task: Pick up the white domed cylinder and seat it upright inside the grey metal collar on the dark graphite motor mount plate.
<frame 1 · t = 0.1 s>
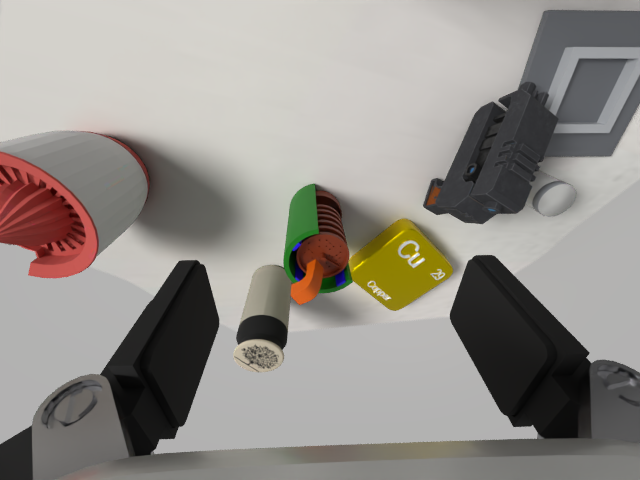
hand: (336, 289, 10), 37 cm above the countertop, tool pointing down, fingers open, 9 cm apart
travel mug: (272, 279, 57), on the countertop
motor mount: (578, 91, 40), on the countertop
white domed cylinder: (526, 184, 48), on the countertop
citrus juicer: (110, 175, 45), on the countertop
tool: (465, 148, 44), on the countertop
motor: (316, 212, 50), on the countertop
element tile: (395, 260, 56), on the countertop
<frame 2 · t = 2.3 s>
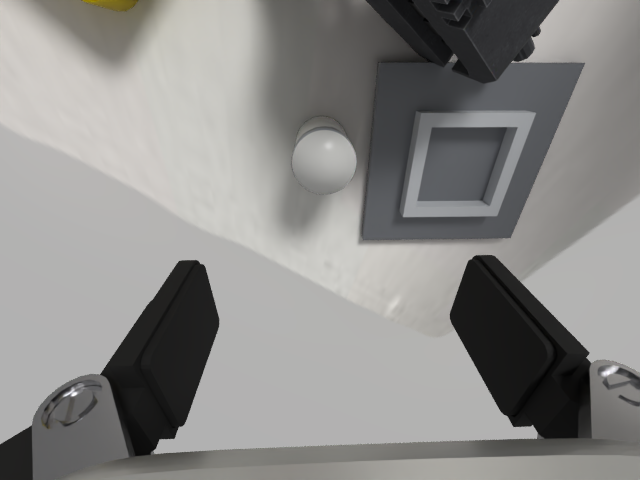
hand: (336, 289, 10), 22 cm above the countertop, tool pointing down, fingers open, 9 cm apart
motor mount: (452, 162, 30), on the countertop
white domed cylinder: (321, 143, 28), on the countertop
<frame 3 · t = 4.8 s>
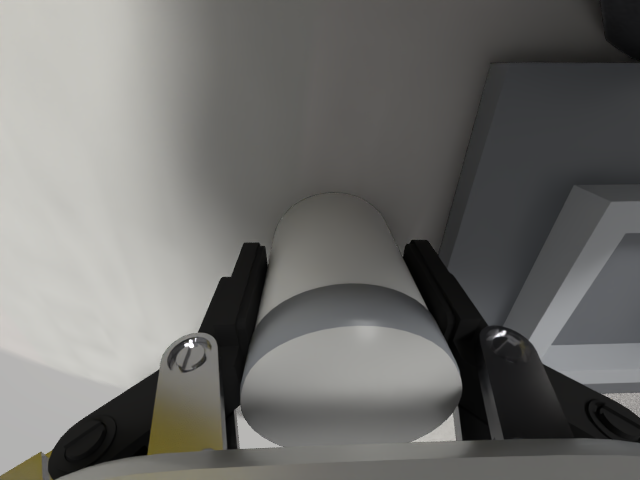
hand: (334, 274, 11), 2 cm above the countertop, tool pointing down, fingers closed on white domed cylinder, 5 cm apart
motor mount: (609, 275, 14), on the countertop
white domed cylinder: (331, 246, 13), on the countertop, touching gripper
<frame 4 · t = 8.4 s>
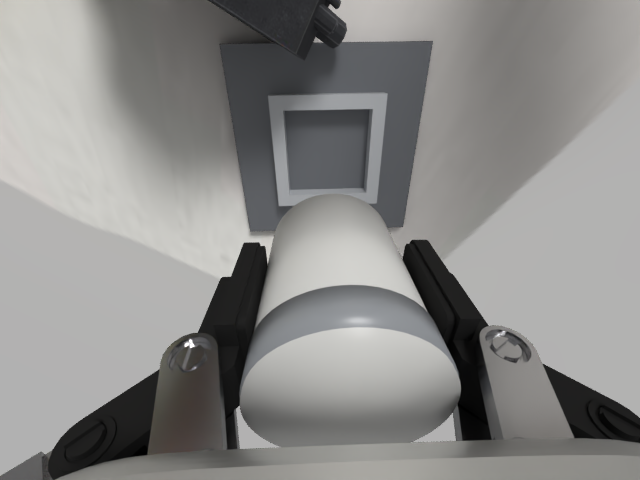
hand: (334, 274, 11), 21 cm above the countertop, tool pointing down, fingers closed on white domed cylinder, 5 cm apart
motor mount: (326, 148, 29), on the countertop
white domed cylinder: (331, 247, 13), point 19 cm above the countertop, touching gripper
when the fingers open (5 cm above the countertop, at t = 12.5 s): white domed cylinder drops 2 cm, resting on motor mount.
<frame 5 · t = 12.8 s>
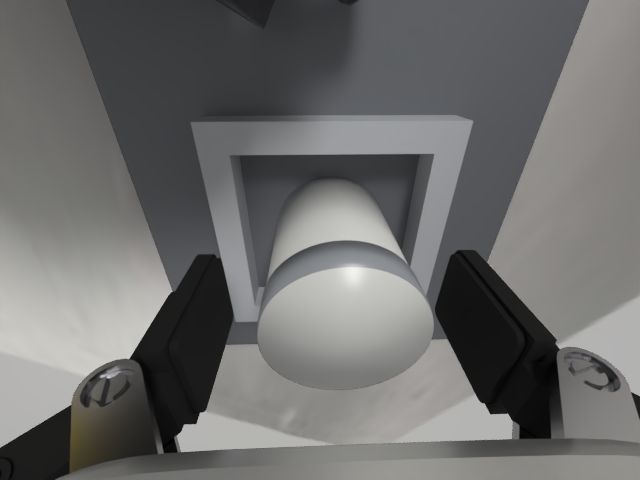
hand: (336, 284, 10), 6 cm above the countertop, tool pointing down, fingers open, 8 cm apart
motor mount: (327, 217, 15), on the countertop
white domed cylinder: (329, 225, 14), point 1 cm above the countertop, touching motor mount
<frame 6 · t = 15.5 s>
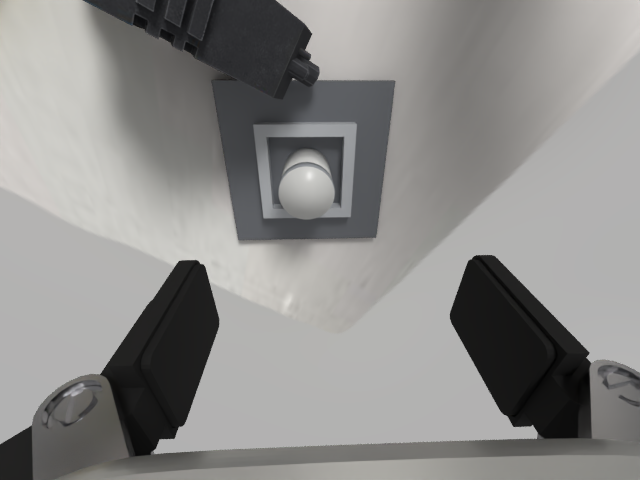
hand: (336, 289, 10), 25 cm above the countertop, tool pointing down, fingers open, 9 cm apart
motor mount: (306, 168, 33), on the countertop
white domed cylinder: (306, 171, 32), point 1 cm above the countertop, touching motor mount
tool: (215, 15, 26), on the countertop
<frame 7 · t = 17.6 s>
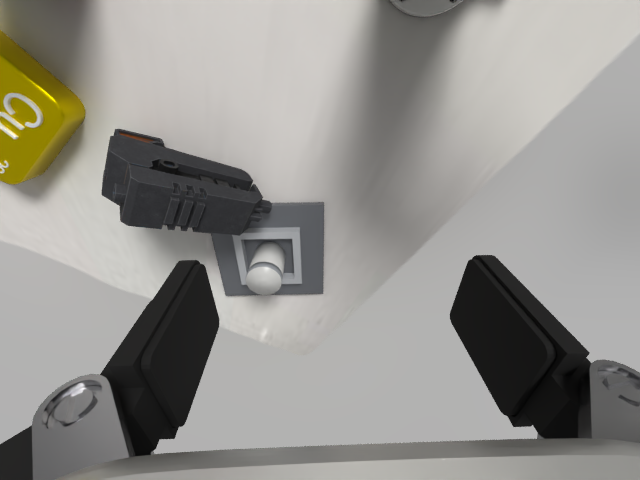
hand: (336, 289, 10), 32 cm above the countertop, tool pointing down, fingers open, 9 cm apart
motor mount: (270, 251, 48), on the countertop
white domed cylinder: (270, 254, 47), point 1 cm above the countertop, touching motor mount
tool: (206, 170, 40), on the countertop
element tile: (6, 99, 35), on the countertop
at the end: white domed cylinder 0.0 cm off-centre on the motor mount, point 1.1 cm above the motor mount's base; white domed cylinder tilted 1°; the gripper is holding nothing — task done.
